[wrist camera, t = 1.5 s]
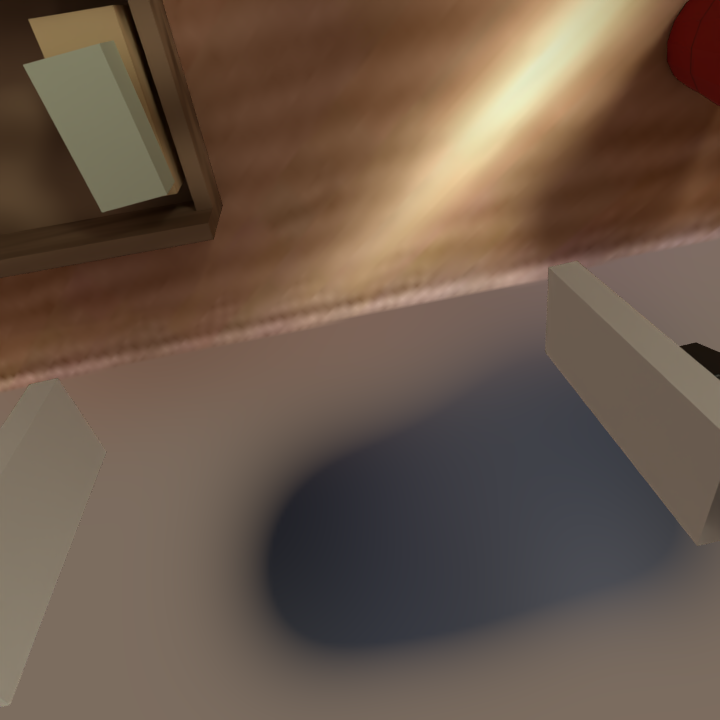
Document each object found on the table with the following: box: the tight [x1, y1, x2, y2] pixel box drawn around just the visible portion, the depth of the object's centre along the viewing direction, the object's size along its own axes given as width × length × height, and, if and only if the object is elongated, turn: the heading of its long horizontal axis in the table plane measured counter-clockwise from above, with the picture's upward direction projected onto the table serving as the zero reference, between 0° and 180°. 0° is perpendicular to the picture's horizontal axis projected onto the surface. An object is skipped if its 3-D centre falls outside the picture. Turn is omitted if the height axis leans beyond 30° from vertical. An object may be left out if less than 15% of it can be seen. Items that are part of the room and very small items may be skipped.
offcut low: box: [28, 5, 186, 196], centre depth 28 cm, size 9×4×4 cm, turn 8°
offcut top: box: [23, 40, 175, 212], centre depth 26 cm, size 7×4×2 cm, turn 13°
